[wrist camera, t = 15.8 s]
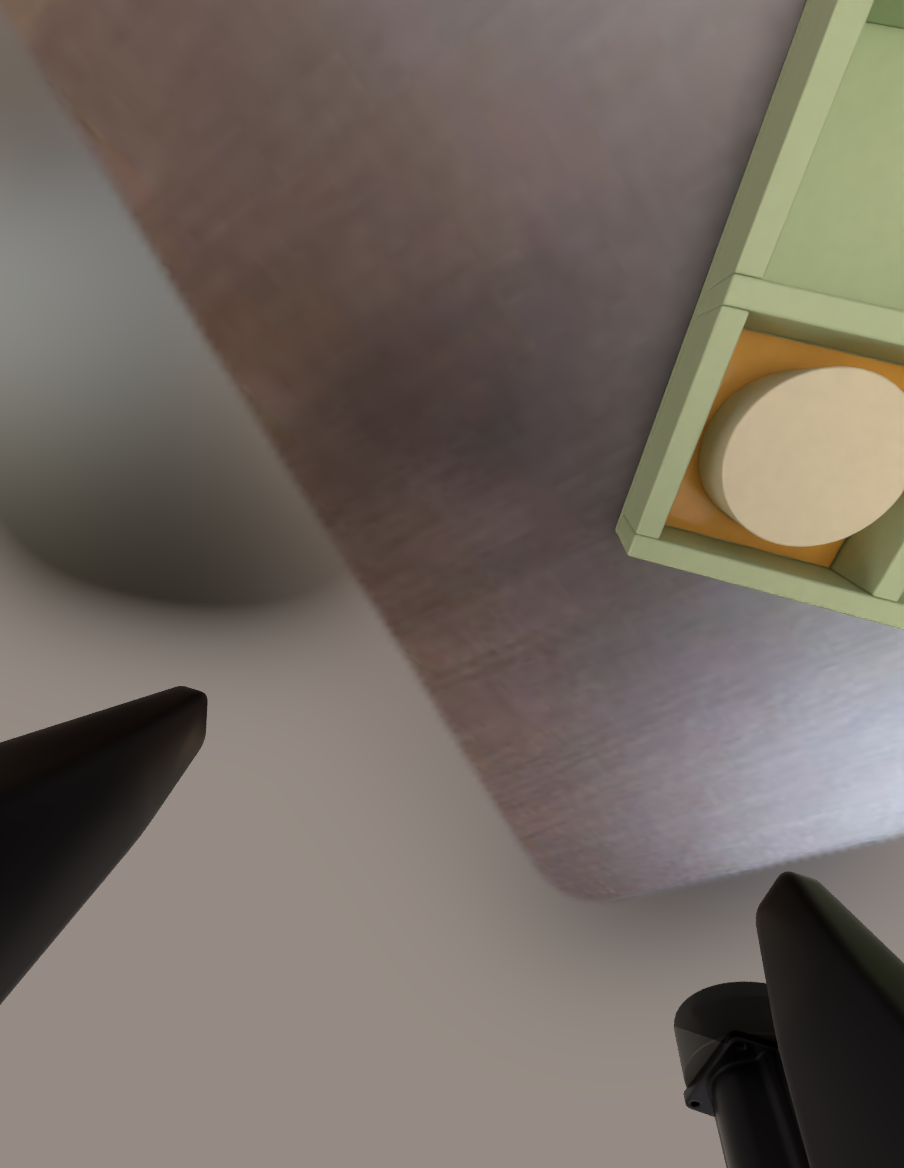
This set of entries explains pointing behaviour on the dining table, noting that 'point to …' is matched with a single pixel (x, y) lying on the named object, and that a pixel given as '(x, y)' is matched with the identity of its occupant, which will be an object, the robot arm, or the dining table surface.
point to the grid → (795, 309)
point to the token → (806, 454)
